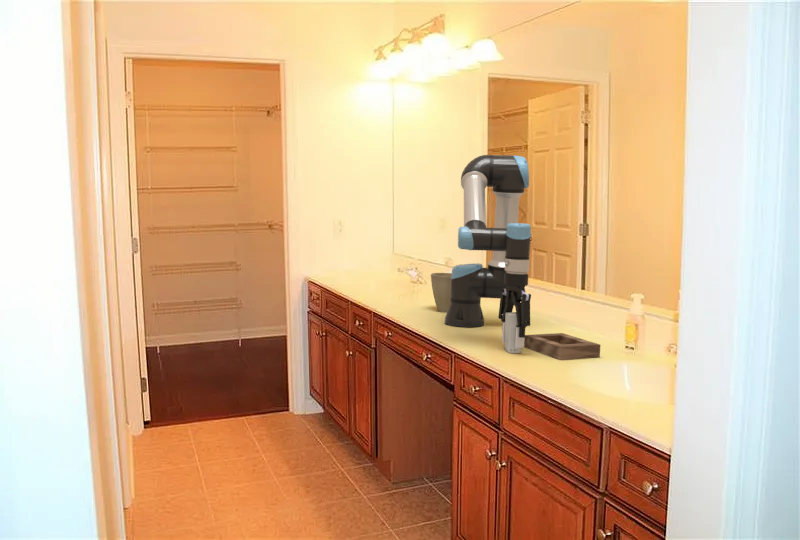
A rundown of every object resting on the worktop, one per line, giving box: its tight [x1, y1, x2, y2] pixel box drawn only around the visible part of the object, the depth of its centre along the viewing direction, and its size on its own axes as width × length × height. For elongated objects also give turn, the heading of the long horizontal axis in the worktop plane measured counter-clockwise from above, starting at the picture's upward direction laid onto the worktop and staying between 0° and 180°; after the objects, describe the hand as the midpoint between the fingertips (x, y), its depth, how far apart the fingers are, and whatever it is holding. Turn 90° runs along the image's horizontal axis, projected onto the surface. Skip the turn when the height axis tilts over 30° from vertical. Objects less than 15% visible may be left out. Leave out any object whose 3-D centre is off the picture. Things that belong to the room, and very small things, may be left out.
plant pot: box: [430, 272, 452, 313], centre depth 285 cm, size 15×15×16 cm
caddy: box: [523, 332, 601, 361], centre depth 210 cm, size 19×15×4 cm
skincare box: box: [504, 311, 522, 354], centre depth 208 cm, size 6×4×12 cm
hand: (512, 344), depth 208 cm, fingers closed on skincare box, 7 cm apart
